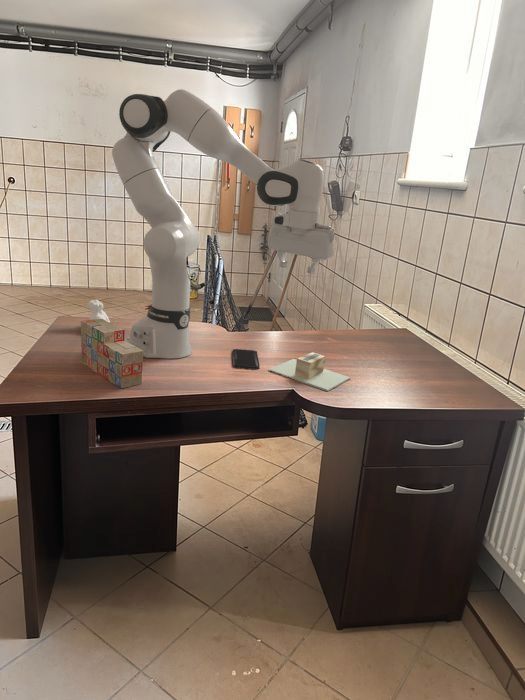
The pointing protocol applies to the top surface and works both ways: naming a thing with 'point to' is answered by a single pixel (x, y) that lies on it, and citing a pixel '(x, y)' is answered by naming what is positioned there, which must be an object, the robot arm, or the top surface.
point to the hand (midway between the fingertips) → (296, 270)
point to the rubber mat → (321, 381)
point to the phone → (245, 359)
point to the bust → (97, 310)
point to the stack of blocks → (110, 353)
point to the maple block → (310, 365)
